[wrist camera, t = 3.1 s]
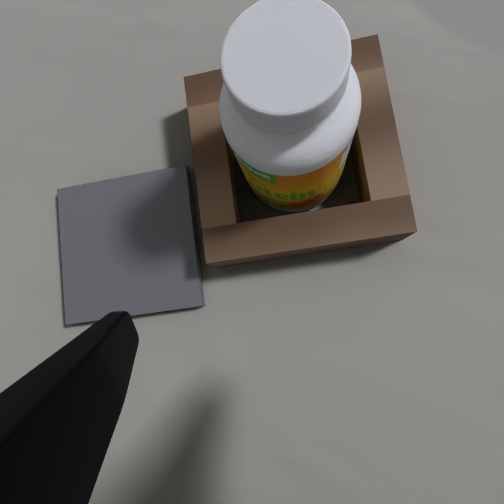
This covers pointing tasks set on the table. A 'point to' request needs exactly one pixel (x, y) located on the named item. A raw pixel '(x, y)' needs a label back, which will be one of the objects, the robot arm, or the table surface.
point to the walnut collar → (311, 222)
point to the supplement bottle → (289, 100)
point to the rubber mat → (129, 246)
